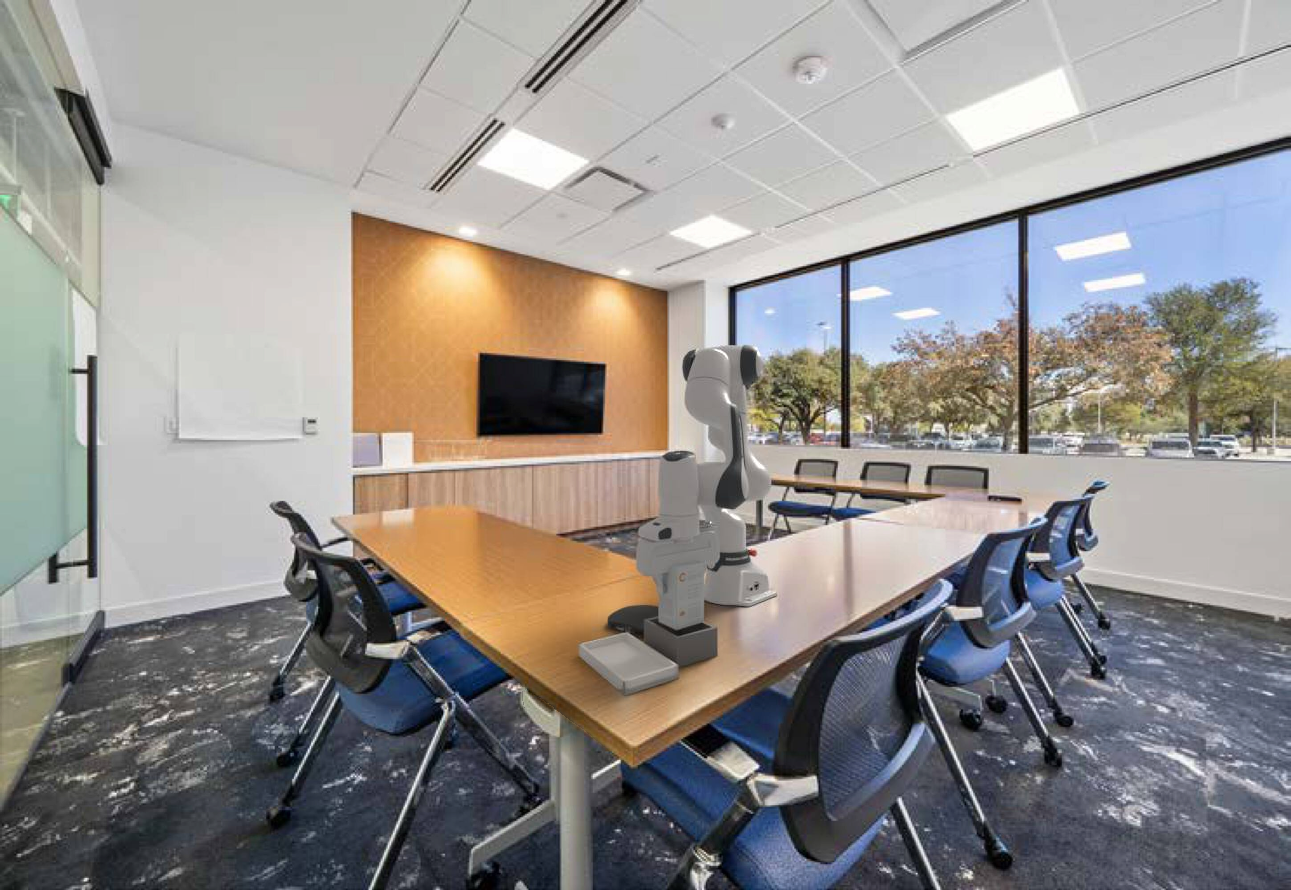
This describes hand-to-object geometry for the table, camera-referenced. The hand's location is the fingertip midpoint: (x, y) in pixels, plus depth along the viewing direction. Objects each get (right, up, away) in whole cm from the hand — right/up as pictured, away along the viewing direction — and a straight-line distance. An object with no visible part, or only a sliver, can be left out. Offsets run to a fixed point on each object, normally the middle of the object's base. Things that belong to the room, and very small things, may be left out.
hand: (680, 589), depth 111 cm
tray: (-12, -14, -7) cm, 19 cm away
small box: (0, -7, 0) cm, 7 cm away
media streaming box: (-8, -14, +16) cm, 23 cm away
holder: (0, -13, 0) cm, 13 cm away
